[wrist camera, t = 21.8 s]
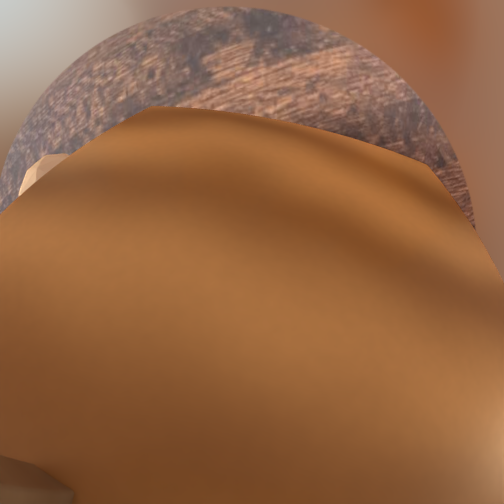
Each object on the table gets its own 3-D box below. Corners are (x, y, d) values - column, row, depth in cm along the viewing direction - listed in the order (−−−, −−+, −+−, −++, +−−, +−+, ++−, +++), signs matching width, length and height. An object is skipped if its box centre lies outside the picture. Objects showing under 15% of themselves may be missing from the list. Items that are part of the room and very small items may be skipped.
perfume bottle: (110, 226, 20) (52, 277, 24) (113, 158, 24) (57, 215, 27) (31, 191, 14) (-7, 258, 17) (54, 121, 17) (7, 193, 21)
